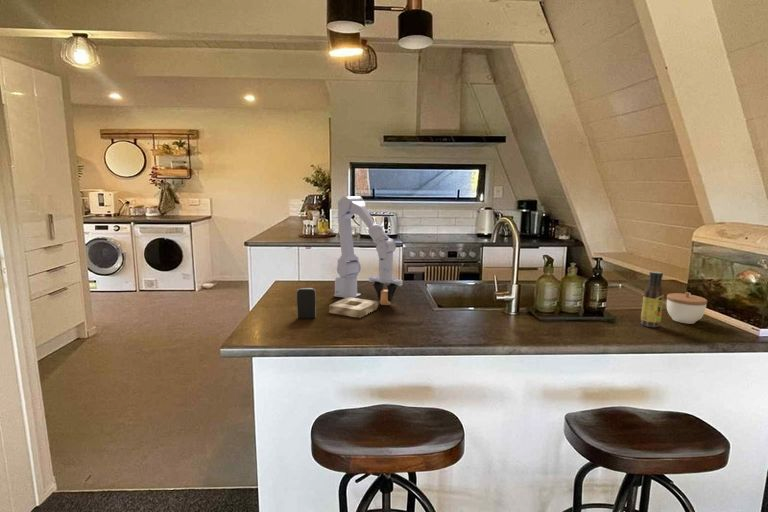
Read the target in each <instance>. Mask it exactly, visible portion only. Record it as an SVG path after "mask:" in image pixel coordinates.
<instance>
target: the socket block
mask: <svg viewBox="0 0 768 512" xmlns="http://www.w3.org/2000/svg"><path fill="white" fill-rule="evenodd" d="M378 301H379V300H378ZM378 301H377V300H373V299H372V300H371V299H365V298H359V297H355V298H352V297H346V298H342V299H339V300H337V301H335V302H333V303H330V304H329V305H328V313H329V314H336V315H342V316H348V317H353V318H357V317H358V318H359V319H361V317H362V318H363V317H365V316H366V315H369V314H371V313H372V312H374V311H376V310H378V309H379V305H378ZM377 308H378V309H377ZM370 312H371V313H370ZM368 313H369V314H368ZM358 318H357V319H358Z"/></svg>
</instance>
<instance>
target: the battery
mask: <svg viewBox="0 0 768 512" xmlns="http://www.w3.org/2000/svg"><path fill="white" fill-rule="evenodd" d="M316 296H317V293H316V289H315V288H314V287H299V288H298V289H297V291H296V308H297V309H296V311H297V315H296V316H297V317H296V318H297V319H301V320H303V319H315V318H317V317H316V314H317V312H316V310H317V309H316V307H317V306H316V305H317V297H316Z"/></svg>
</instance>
